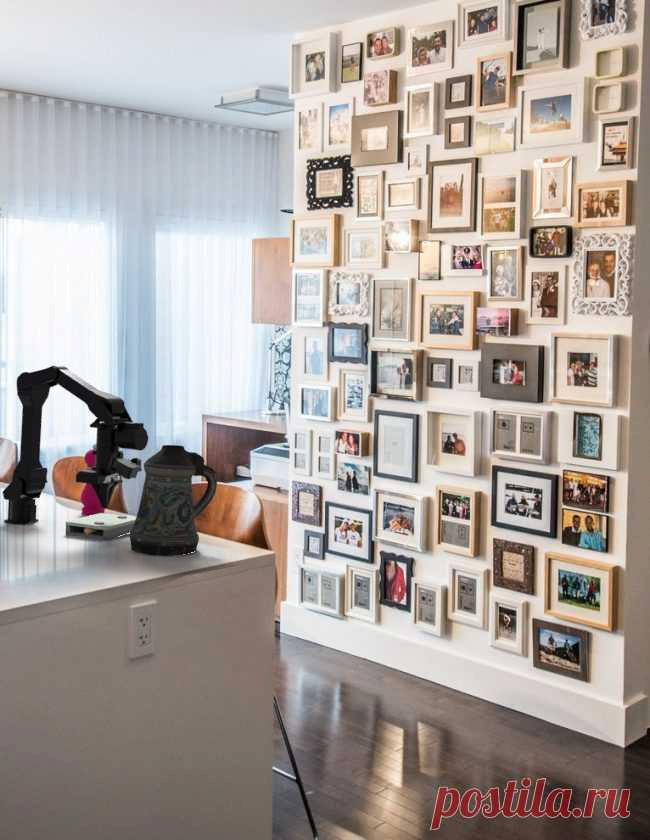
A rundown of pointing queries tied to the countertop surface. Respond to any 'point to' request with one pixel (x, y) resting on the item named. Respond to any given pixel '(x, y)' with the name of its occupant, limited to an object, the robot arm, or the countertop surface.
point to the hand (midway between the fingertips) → (104, 508)
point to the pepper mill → (90, 490)
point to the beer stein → (170, 503)
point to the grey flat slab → (98, 532)
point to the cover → (102, 521)
